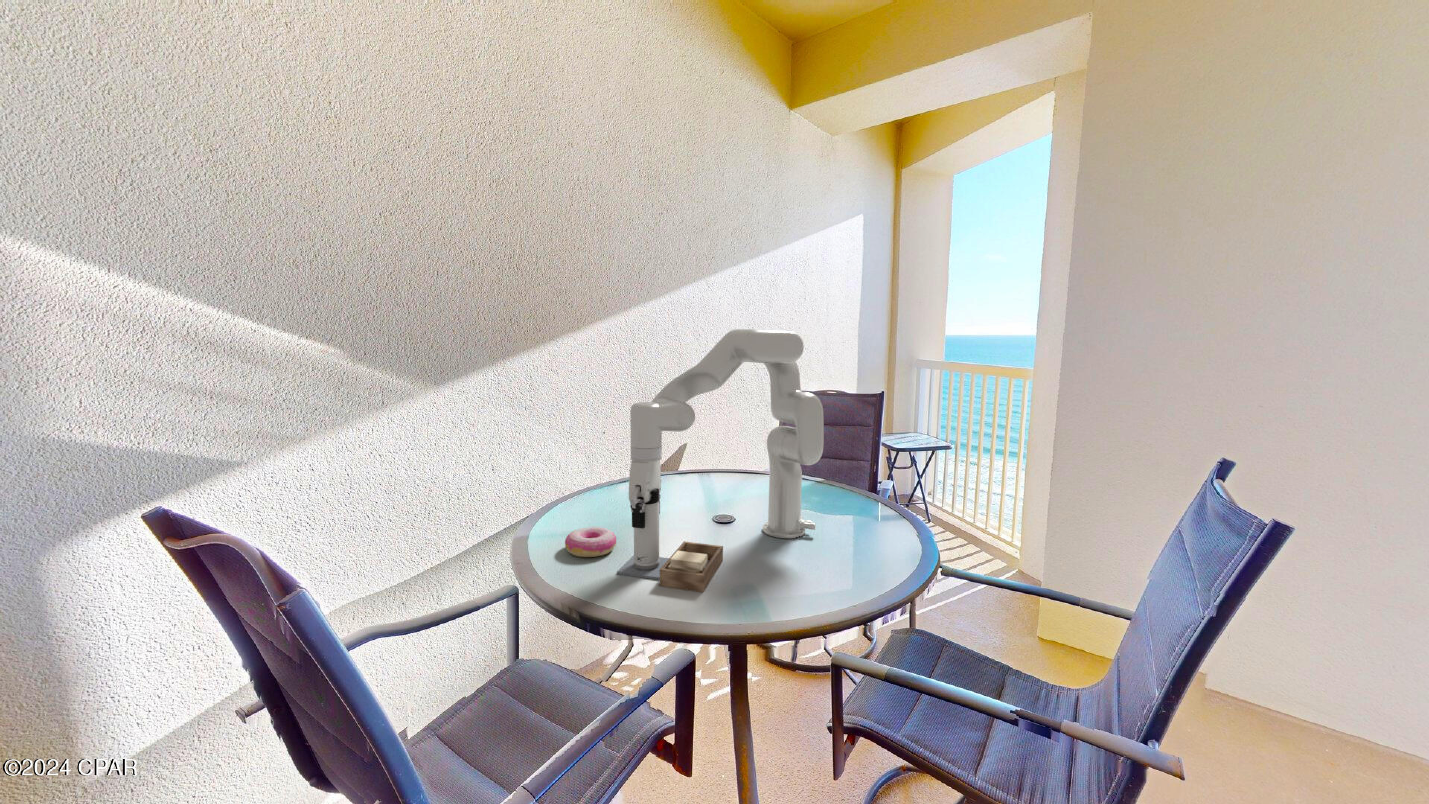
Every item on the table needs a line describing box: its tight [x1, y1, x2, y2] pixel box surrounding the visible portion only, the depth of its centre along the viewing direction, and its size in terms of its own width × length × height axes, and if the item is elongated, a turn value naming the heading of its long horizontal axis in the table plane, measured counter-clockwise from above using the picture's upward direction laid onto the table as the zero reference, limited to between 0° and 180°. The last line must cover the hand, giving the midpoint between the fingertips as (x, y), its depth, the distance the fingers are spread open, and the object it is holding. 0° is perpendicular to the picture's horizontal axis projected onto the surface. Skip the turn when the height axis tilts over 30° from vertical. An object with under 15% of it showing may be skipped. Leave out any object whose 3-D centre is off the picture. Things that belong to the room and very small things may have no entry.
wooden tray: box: [659, 541, 724, 593], centre depth 131 cm, size 11×18×4 cm, turn 165°
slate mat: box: [616, 554, 670, 581], centre depth 134 cm, size 11×11×1 cm
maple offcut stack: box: [668, 551, 708, 573], centre depth 127 cm, size 8×5×6 cm, turn 75°
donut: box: [564, 526, 617, 558], centre depth 144 cm, size 14×13×5 cm
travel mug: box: [633, 489, 660, 570], centre depth 132 cm, size 6×7×20 cm
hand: (646, 520), depth 133 cm, fingers open, 9 cm apart
